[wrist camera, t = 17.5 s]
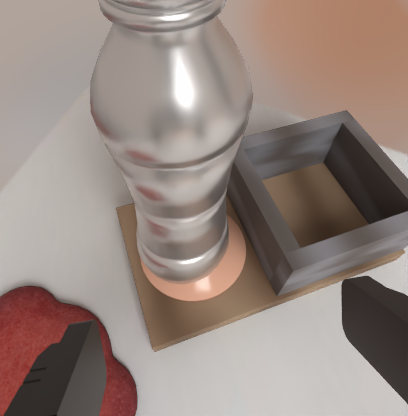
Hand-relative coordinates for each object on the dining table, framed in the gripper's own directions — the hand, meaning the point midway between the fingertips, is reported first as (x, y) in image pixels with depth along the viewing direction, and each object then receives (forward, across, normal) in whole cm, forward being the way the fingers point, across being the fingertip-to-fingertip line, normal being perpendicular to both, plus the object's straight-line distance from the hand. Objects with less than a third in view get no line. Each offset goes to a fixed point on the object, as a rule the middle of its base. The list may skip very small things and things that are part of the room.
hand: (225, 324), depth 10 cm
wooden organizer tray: (+17, -6, +3) cm, 18 cm away
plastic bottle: (+15, +1, +3) cm, 15 cm away
